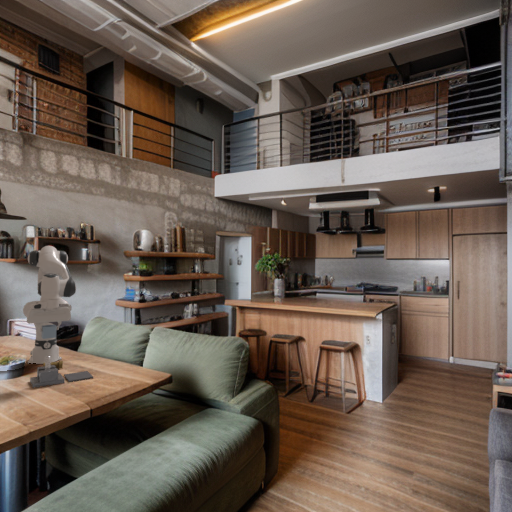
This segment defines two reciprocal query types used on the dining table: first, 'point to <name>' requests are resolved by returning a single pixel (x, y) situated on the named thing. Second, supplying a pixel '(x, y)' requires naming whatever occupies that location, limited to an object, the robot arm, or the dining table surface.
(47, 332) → the blue-grey cube
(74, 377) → the mat
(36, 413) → the dining table surface
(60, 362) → the gavel
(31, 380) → the vise
